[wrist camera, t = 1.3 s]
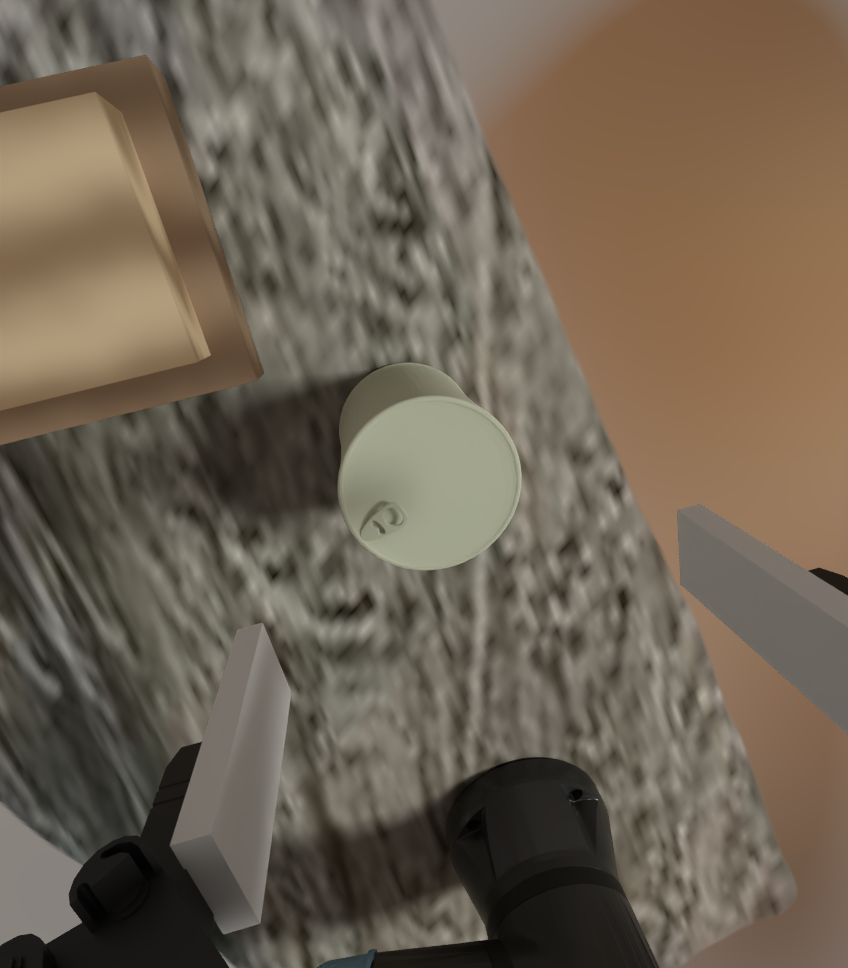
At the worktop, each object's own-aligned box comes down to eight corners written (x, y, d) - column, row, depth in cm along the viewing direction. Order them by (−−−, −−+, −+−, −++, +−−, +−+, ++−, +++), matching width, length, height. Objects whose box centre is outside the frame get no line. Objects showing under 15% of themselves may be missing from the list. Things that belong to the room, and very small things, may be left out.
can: (310, 418, 36) (294, 477, 25) (421, 333, 35) (457, 354, 24) (393, 517, 39) (412, 609, 28) (497, 441, 38) (560, 505, 27)
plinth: (264, 373, 34) (248, 389, 29) (13, 435, 34) (-54, 465, 28) (165, 77, 28) (121, 26, 23) (-142, 145, 28) (-265, 109, 22)
